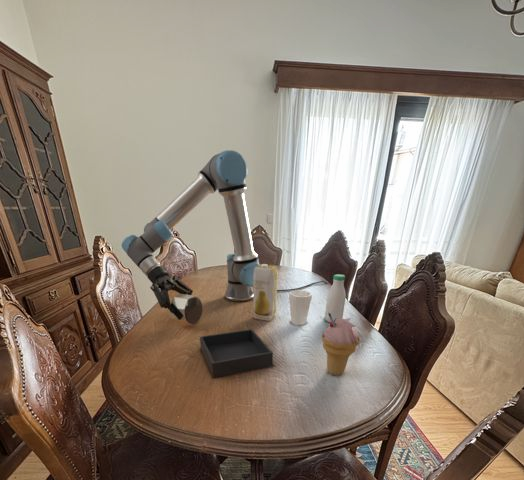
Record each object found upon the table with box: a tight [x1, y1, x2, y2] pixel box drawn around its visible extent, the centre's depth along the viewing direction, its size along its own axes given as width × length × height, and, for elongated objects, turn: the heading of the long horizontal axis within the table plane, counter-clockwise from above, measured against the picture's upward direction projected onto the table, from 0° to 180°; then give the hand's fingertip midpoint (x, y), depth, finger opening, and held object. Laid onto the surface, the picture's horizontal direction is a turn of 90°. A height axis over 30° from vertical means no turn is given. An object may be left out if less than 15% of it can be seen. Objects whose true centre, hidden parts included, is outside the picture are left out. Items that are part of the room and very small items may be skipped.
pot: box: [169, 293, 203, 326], centre depth 117 cm, size 8×11×11 cm
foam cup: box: [288, 289, 313, 326], centre depth 123 cm, size 10×9×13 cm
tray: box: [199, 328, 274, 378], centre depth 97 cm, size 20×20×5 cm
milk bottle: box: [324, 273, 347, 323], centre depth 124 cm, size 8×8×20 cm
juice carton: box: [252, 263, 278, 322], centre depth 124 cm, size 9×8×24 cm
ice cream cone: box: [321, 313, 361, 377], centre depth 86 cm, size 11×11×20 cm
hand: (190, 313), depth 117 cm, fingers closed on pot, 11 cm apart
